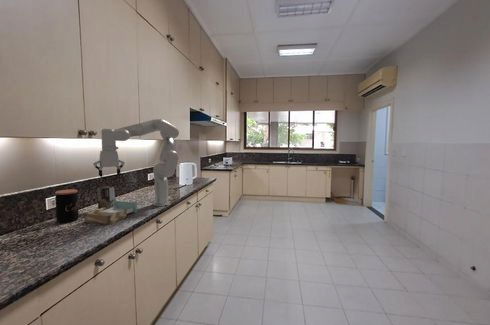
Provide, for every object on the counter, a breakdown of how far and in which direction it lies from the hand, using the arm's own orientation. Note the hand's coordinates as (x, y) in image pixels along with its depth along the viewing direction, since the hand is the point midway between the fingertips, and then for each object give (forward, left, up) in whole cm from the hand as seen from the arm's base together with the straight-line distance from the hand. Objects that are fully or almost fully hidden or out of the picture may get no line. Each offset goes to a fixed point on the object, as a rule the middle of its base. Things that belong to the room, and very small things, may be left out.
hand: (109, 175), depth 146 cm
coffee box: (-10, -13, -26) cm, 31 cm away
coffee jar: (+14, -18, -26) cm, 35 cm away
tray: (-4, +2, -26) cm, 26 cm away
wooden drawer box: (+6, +2, -26) cm, 27 cm away
